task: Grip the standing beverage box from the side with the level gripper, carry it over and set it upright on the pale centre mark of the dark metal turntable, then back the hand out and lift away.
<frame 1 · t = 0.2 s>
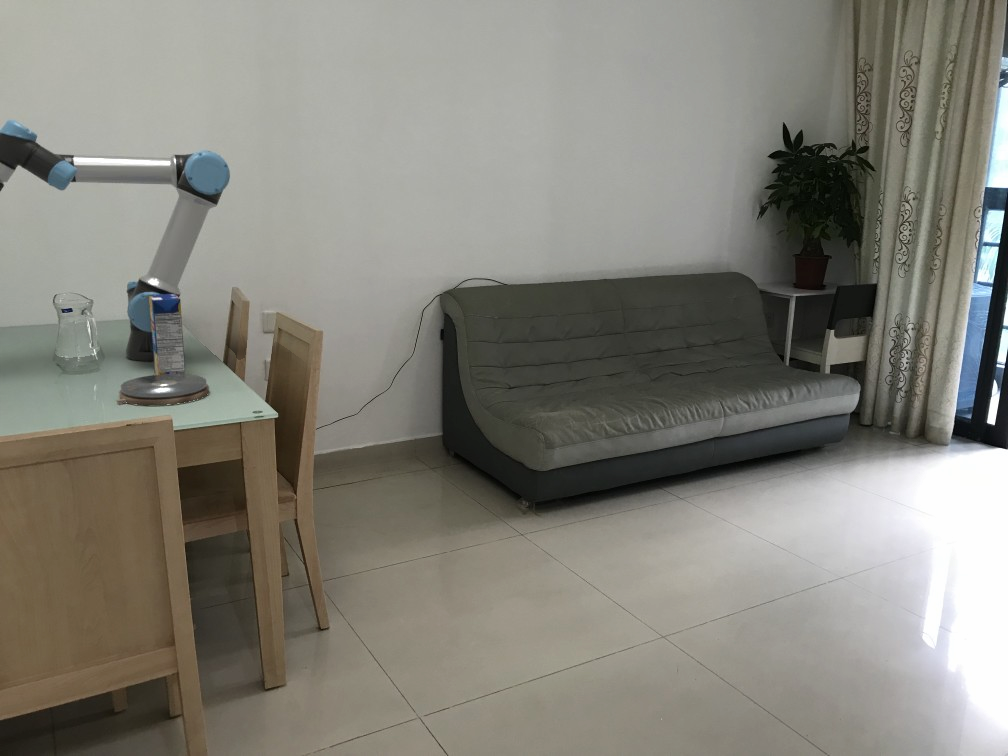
turntable: (164, 385, 205), point 2 cm above the table, hinge at 0.0°
turntable base: (165, 394, 206), on the table
beverage box: (170, 376, 226), on the table
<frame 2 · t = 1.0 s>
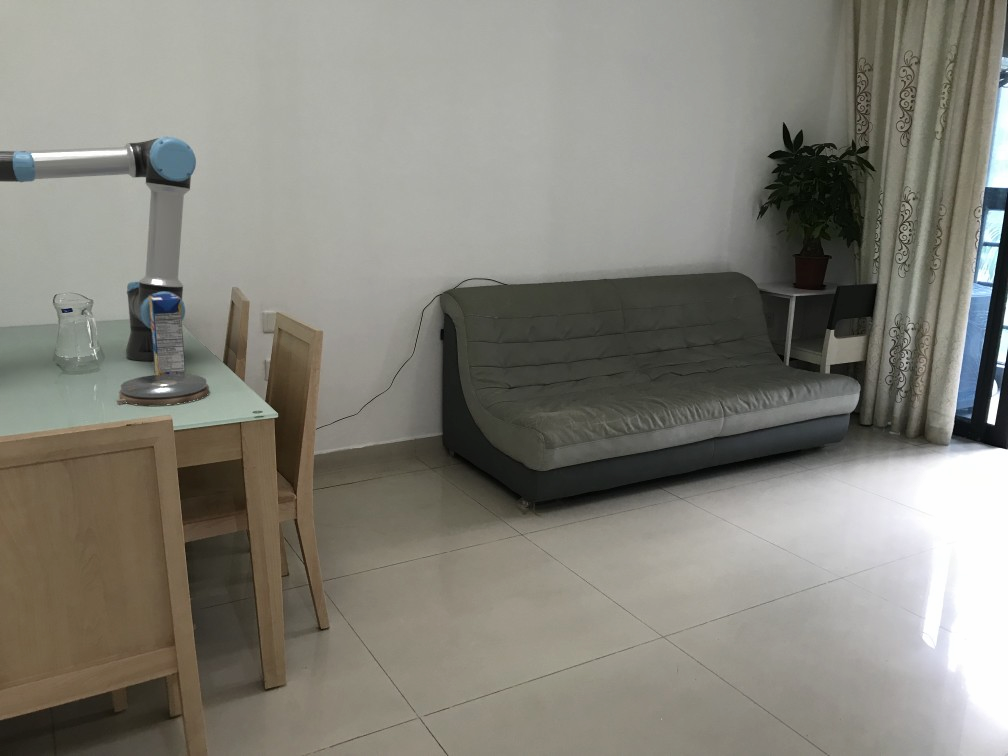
nothing on the table moved.
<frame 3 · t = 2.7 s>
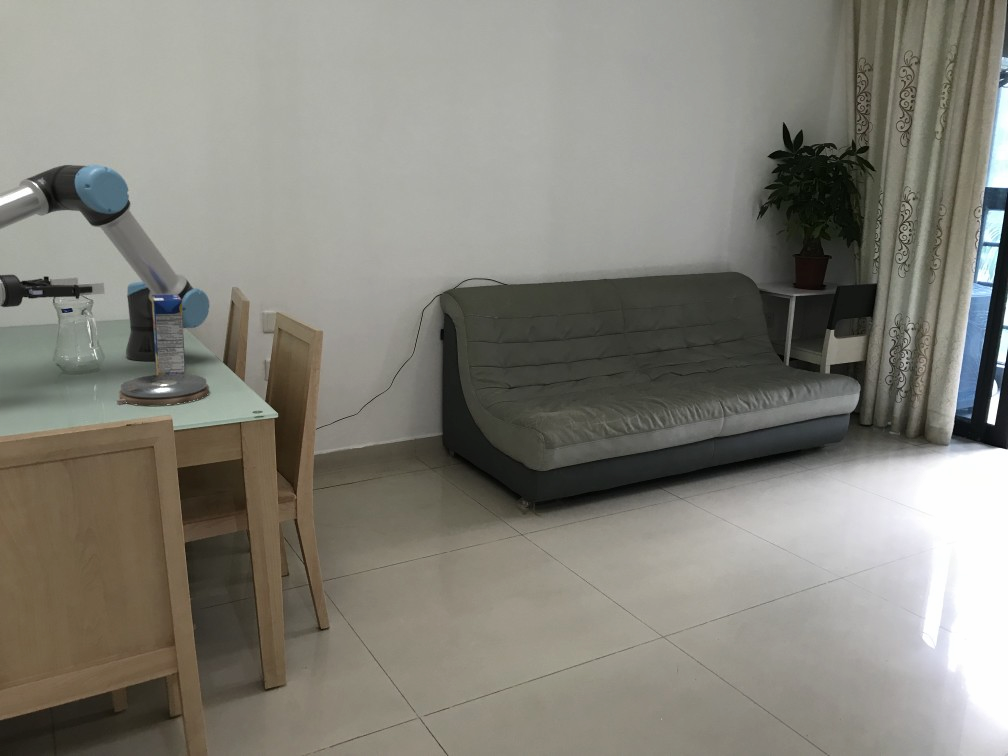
hand: (90, 285, 206), 26 cm above the table, tool horizontal, fingers open, 13 cm apart
beverage box: (170, 376, 226), on the table, touching arm
everything else where it was.
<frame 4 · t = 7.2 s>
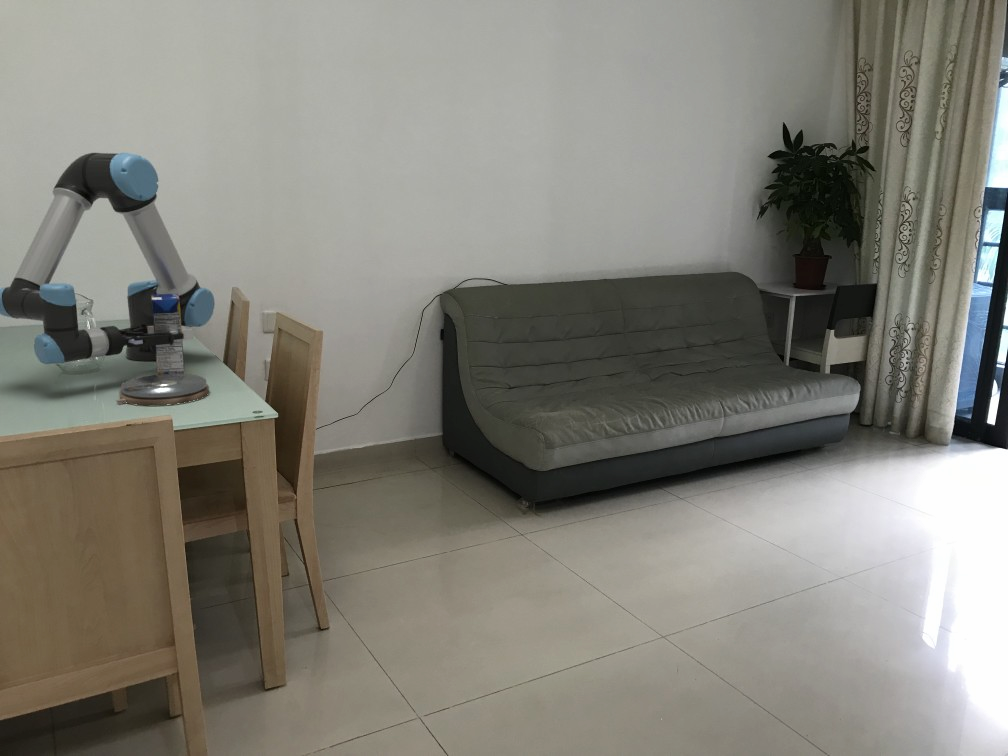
hand: (180, 331, 226), 12 cm above the table, tool horizontal, fingers closed on beverage box, 10 cm apart
beverage box: (170, 375, 226), on the table, touching gripper
everything else where it was.
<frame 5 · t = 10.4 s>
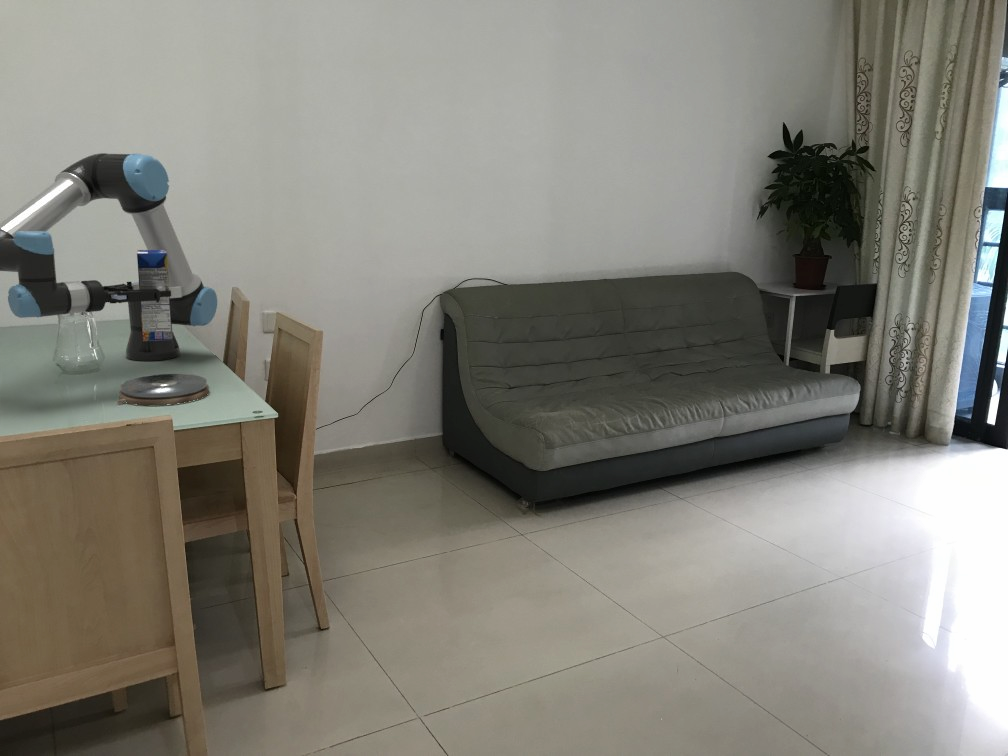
hand: (168, 289, 211), 25 cm above the table, tool horizontal, fingers closed on beverage box, 10 cm apart
beverage box: (157, 337, 211), point 13 cm above the table, touching gripper
everything else where it was.
when the fingers open (17 cm above the table, at t = 13.5 s): beverage box drops 2 cm, resting on turntable.
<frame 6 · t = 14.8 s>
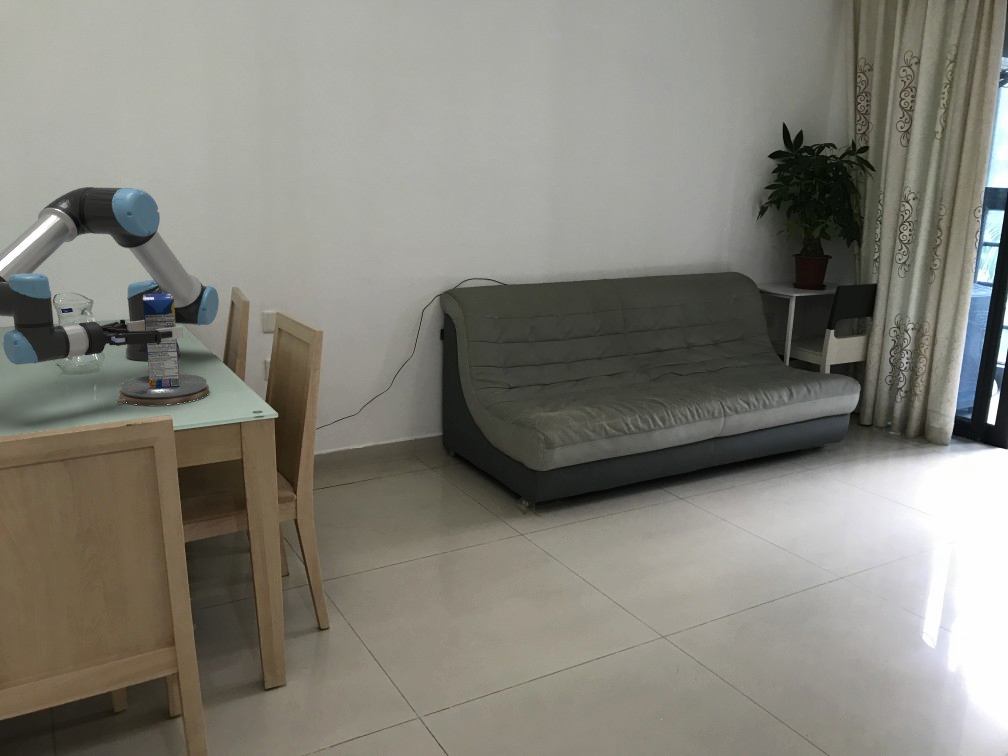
hand: (167, 328, 203), 17 cm above the table, tool horizontal, fingers open, 13 cm apart
turntable: (164, 385, 205), point 2 cm above the table, hinge at 0.0°, touching beverage box
beverage box: (164, 383, 205), point 3 cm above the table, touching turntable
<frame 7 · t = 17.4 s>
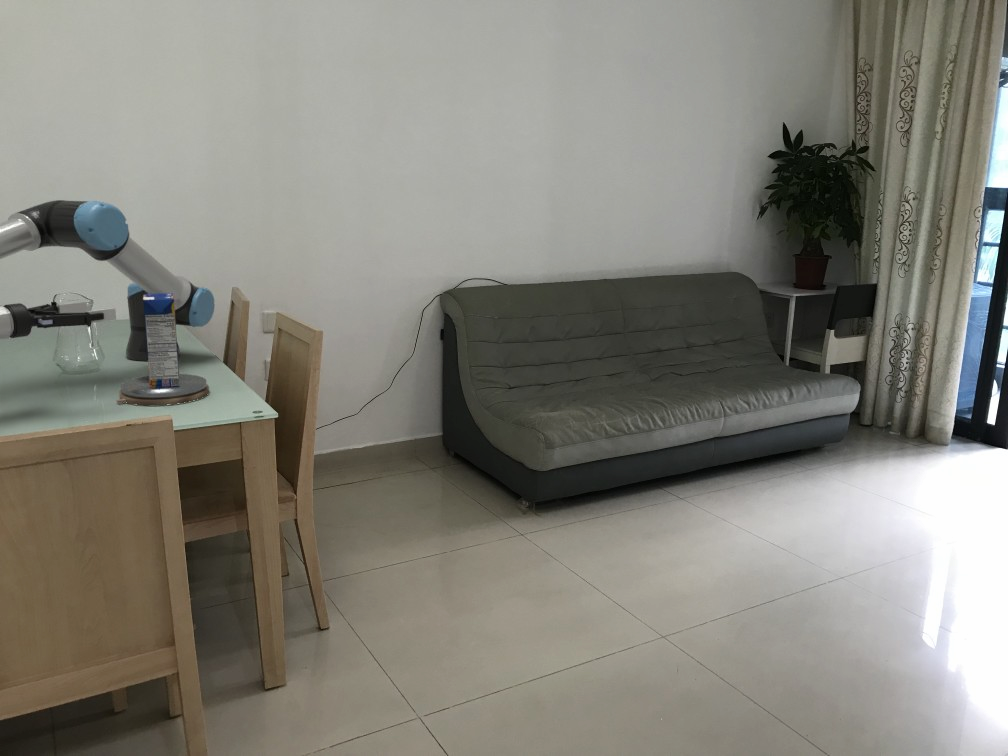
hand: (100, 310, 197), 22 cm above the table, tool horizontal, fingers open, 13 cm apart
nothing on the table moved.
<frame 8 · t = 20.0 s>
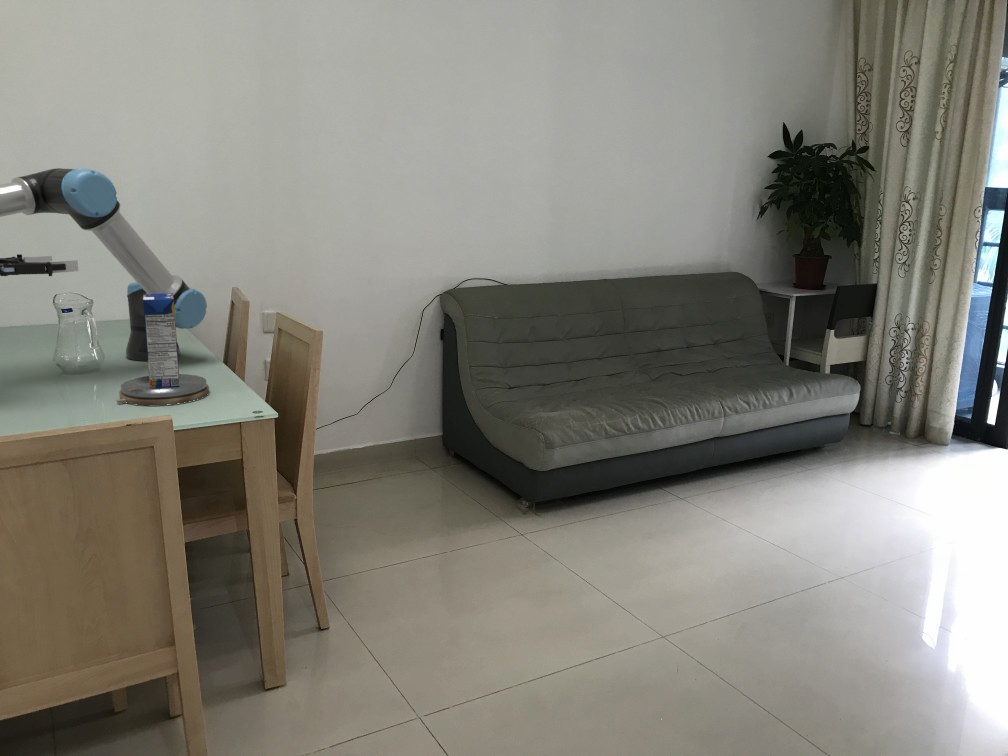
hand: (64, 263, 204), 32 cm above the table, tool horizontal, fingers open, 13 cm apart
nothing on the table moved.
at the end: beverage box 0.1 cm off-centre on the turntable, point 2.9 cm above the turntable's base; beverage box tilted 0°; the gripper is holding nothing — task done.
